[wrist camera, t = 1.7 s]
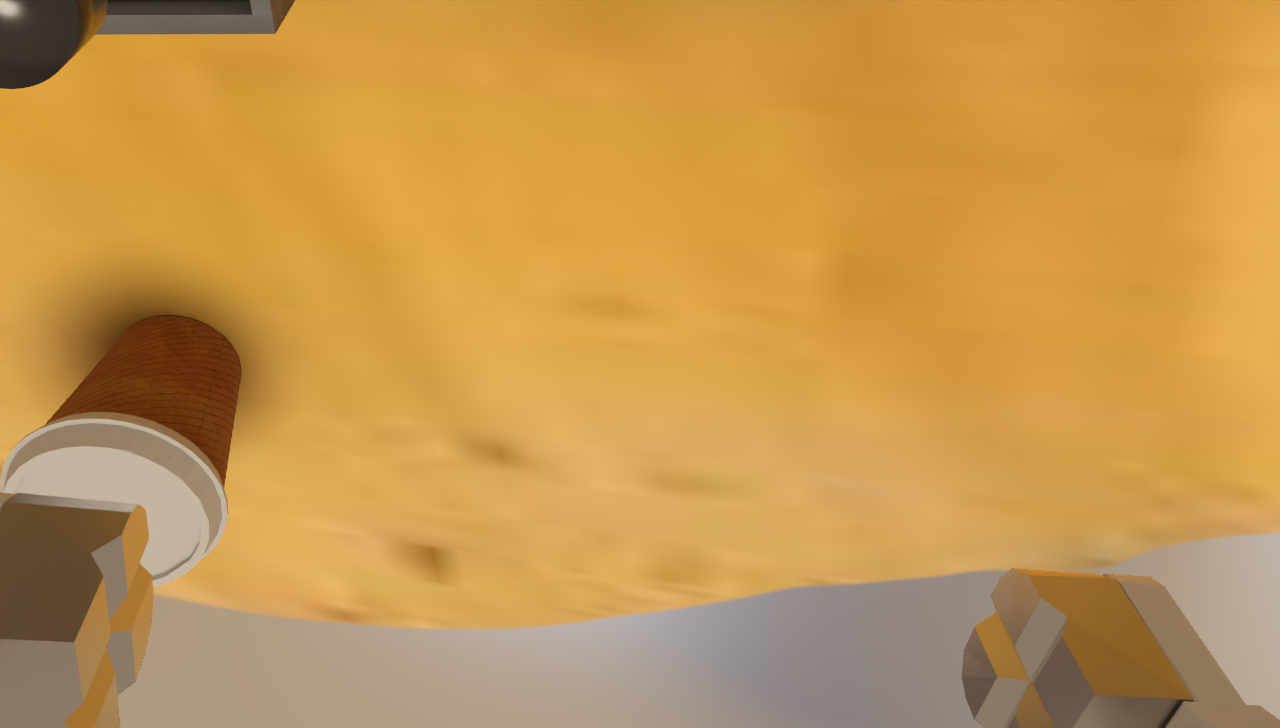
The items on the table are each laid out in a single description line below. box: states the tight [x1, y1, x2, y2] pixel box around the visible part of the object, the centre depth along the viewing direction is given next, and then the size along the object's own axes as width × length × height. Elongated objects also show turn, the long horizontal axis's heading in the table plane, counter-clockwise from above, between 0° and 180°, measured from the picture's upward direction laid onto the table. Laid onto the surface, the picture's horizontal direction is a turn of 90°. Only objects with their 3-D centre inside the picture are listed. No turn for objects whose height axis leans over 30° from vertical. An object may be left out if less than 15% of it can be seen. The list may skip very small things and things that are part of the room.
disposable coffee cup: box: [0, 316, 241, 587], centre depth 52 cm, size 10×10×12 cm
